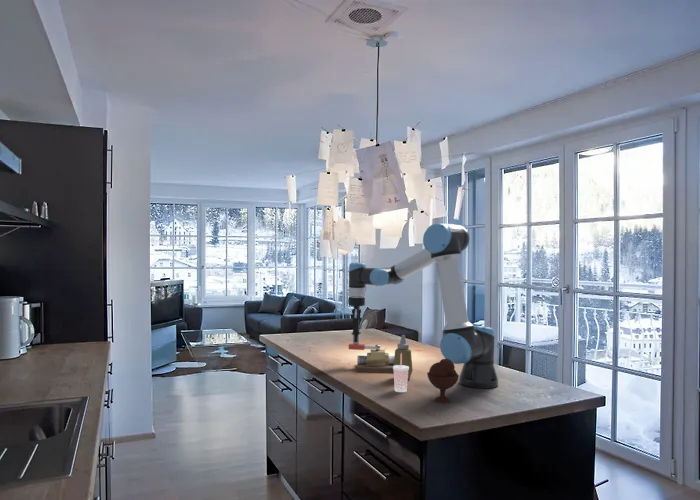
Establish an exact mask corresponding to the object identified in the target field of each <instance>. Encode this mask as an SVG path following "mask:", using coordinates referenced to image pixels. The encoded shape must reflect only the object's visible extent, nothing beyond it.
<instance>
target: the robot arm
mask: <svg viewBox="0 0 700 500" xmlns="http://www.w3.org/2000/svg"><path fill="white" fill-rule="evenodd" d="M422 242H423V243H422V244H423V246H424V248H423V249H420V250H419V251H417V252H415V253H413V254H412V255H409V256H408V257H407V258H404V259H402V260H401V261H399V262H397V263H396V264H394V265H392V266H390V267H366V266H367V265H366V263H364V262H350V263H349V266H348V288H347V290H346V291H347V292H348V298H347V301H348V303H347V304H348V306H350V307H353V308H352V309H351V315H352V316H351V317H352V333H351V335H352V344H360V334H361V332H360V320H361V313H362V309H360V307H363V306H365V305H366V298H365V296H366V285H369V286H375V287H382V286H385V285H398V284H401V283H403V282H404V280H405V279H406V278H409V277H410V276H411V275H413V274H415V273H416V274H417V272H420V271H421V270H424V269H425V268H427V267H429V266H431V265H433V264H436V272H437V278H438V282H439V283H438V284H439V288H440V296H441V300H442V301H441V303H442V307H443V313H444V319H445V325H444V327H443V328H442V332H443V336H442V338H441V340H440V342H439V349H440V352H441V354H442V356H443V358H444V359H449V360H451V361H452V362H453V363H454V365H458V364H459V365H460V364H463V365H462V368H461V371H460V374H459V378H458V383H459V384H460V385H463V386H465V387H470V388H477V389H491V388H492V389H493V388H496V387H498V386H499V377H498V375H497V372H496V369H495V358H494V357H495V339H496V337H495V330H494V328H493V327H488V326H482V325H481V326H480V325H474V324H472V322H470V321H469V316H468V311H467V310H468V309H467V305H466V300H465V299H466V298H465V293H464V286H463V281H462V275H461V270H460V264H459V259H460V257H461V256H462V252H464V251H465V250H466V249H467V248H468V246H469V244H470V234H469V232H468V230H467V229H466V228H465V226H462V225H460V224H457V223H454V224H453V223H446V222H437V223H433V224H431V225H429V226H428V227H427V228H426V230H425V232H424V234H423V235H422Z"/></svg>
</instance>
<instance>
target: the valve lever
mask: <svg viewBox="0 0 700 500" xmlns="http://www.w3.org/2000/svg"><path fill="white" fill-rule="evenodd" d="M380 348H381V344H375V345H366V344H363V343H359V344H353V343H349V344H348V350H354V351H355V350H356V351H357V350H358V351H364V350H371V349H376V351H380Z"/></svg>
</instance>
